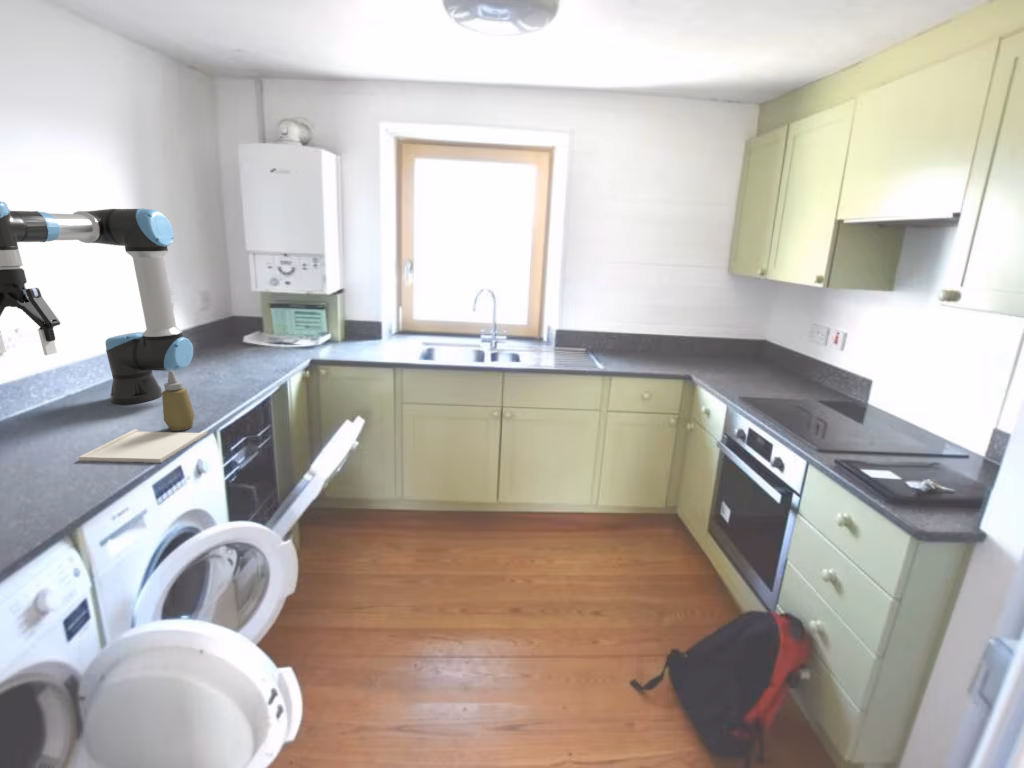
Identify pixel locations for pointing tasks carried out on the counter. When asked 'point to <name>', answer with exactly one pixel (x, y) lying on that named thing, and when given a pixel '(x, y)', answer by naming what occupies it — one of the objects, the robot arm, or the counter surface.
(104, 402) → the counter surface
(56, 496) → the counter surface
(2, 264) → the robot arm
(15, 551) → the counter surface
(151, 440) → the tray
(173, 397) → the squeeze bottle
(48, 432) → the counter surface
